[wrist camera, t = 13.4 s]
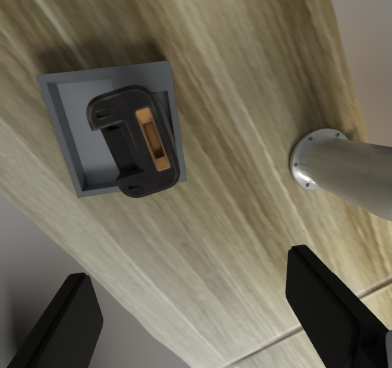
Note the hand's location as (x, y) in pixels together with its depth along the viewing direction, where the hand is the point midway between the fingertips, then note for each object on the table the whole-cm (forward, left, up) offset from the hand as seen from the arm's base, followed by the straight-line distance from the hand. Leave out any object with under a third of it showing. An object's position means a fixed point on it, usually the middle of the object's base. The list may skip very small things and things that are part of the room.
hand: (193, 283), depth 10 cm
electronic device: (+3, -5, -31) cm, 32 cm away
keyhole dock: (+8, -5, -32) cm, 33 cm away
